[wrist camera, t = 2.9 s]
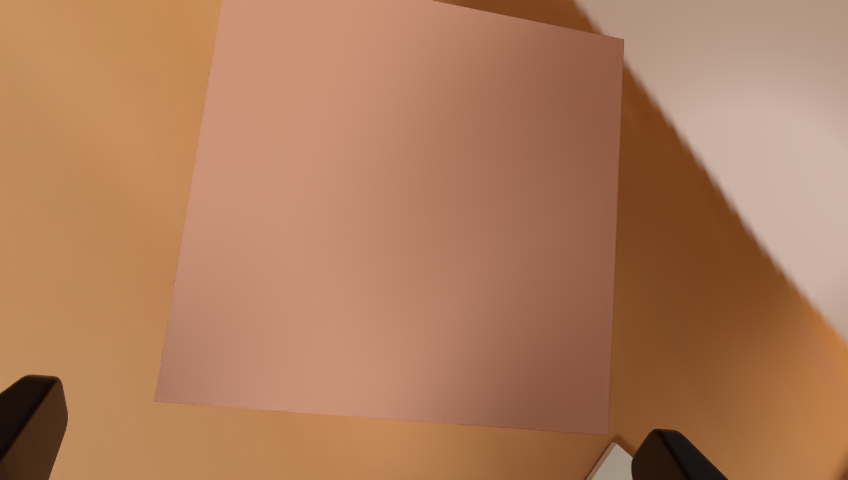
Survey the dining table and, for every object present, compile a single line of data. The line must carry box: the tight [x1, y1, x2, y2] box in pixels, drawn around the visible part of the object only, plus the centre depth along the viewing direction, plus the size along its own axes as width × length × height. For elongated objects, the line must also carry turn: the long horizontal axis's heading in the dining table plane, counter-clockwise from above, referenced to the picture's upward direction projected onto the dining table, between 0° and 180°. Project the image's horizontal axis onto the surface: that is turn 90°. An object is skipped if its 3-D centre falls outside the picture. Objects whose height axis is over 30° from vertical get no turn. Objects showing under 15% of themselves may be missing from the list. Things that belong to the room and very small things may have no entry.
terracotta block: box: [154, 0, 624, 435], centre depth 13 cm, size 5×5×12 cm
